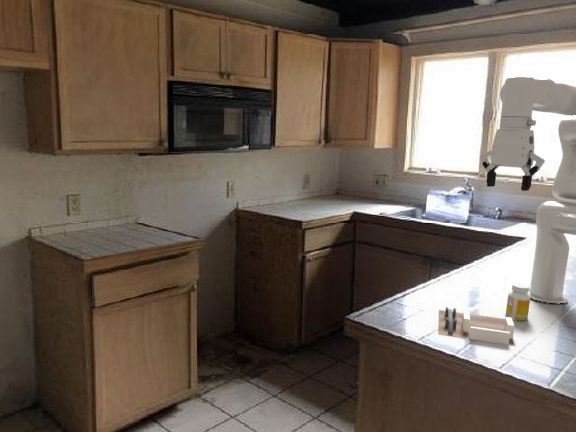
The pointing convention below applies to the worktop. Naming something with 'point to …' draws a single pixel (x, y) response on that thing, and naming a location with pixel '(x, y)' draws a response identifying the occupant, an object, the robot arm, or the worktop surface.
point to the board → (474, 321)
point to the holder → (489, 331)
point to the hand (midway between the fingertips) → (507, 188)
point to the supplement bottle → (518, 303)
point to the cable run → (450, 320)
